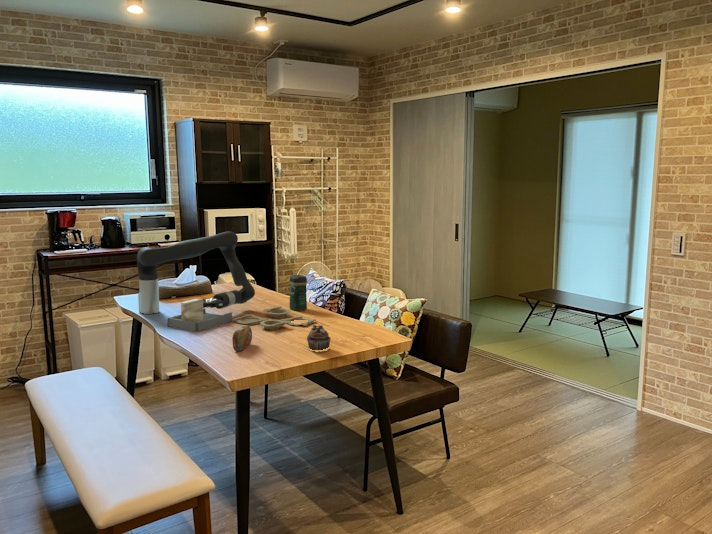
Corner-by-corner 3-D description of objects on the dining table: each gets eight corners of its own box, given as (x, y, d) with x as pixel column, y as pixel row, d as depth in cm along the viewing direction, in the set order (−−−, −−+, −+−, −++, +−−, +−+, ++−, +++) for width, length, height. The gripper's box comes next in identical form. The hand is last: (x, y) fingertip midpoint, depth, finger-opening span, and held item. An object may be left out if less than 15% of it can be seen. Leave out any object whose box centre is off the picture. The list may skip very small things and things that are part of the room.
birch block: (181, 323, 264) (181, 302, 262) (197, 319, 272) (196, 298, 271) (188, 324, 262) (187, 303, 260) (203, 320, 271) (203, 299, 269)
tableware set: (228, 321, 279) (228, 313, 278) (275, 312, 300) (275, 304, 300) (274, 335, 256) (274, 326, 255) (322, 324, 277) (322, 316, 276)
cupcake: (332, 352, 230) (332, 328, 229) (308, 353, 228) (308, 329, 227) (328, 346, 240) (328, 322, 238) (305, 347, 238) (305, 323, 236)
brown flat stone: (238, 353, 227) (238, 333, 226) (231, 353, 228) (230, 332, 226) (252, 343, 242) (252, 323, 240) (245, 342, 242) (245, 323, 241)
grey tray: (167, 326, 266) (167, 318, 265) (204, 316, 287) (203, 308, 286) (197, 331, 258) (196, 323, 257) (232, 320, 279) (232, 312, 278)
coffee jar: (309, 310, 304) (309, 275, 302) (296, 312, 300) (296, 276, 297) (299, 306, 312) (299, 273, 309) (287, 308, 307) (287, 274, 305)
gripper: (213, 291, 288) (188, 296, 273) (234, 293, 282) (210, 300, 267) (214, 305, 289) (189, 312, 274) (234, 308, 283) (210, 315, 268)
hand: (199, 306), depth 271 cm, fingers closed
